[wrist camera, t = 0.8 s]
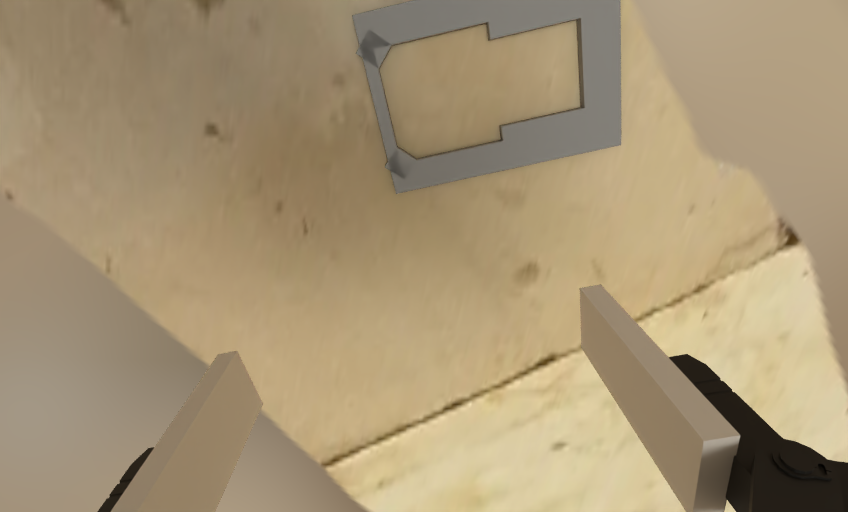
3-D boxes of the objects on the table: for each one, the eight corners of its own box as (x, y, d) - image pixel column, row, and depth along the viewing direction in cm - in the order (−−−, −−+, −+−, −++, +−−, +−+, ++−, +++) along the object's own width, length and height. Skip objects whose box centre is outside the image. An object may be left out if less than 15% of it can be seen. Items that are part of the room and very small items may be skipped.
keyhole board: (348, 18, 30) (346, 16, 29) (614, -47, 29) (620, -51, 28) (392, 192, 36) (391, 194, 35) (616, 143, 35) (621, 144, 34)
